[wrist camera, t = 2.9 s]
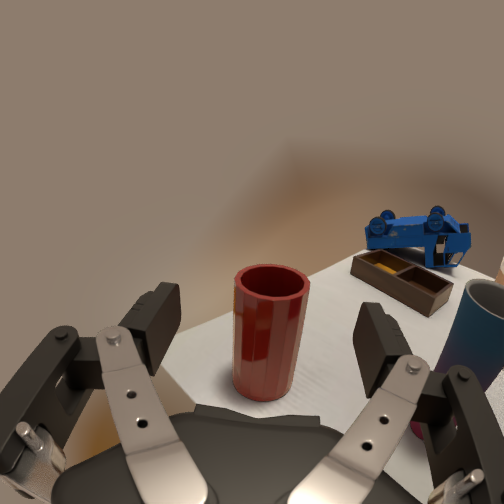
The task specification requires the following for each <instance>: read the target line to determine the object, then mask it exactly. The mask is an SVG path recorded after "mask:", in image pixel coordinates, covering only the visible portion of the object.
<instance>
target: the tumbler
mask: <svg viewBox="0 0 504 504" xmlns="http://www.w3.org/2000/svg"><path fill="white" fill-rule="evenodd" d="M309 290H310V281H309V280H308V278H307V277H306V276H305V275H304V274H303V273H301V272H299V271H298V270H296V269H293V268H290V267H286V266H283V265H275V264H259V265H258V264H257V265H253V266H249V267H246V268H244V269H242V270H240V271H239V272H238V273H237V275H236V276H235V278H234V310H233V357H232V376H233V384H234V386H235V388H236V390H237V391H238V392H239V393H240V394H242V395H243V396H245V397H247V398H249V399H251V400H255V401H272V400H276V399H278V398H280V397H282V396H284V395H285V394H286V393H287V392H288V391H289V389H290V387H291V384H292V380H293V375H294V371H295V366H296V361H297V356H298V351H299V346H300V341H301V335H302V330H303V325H304V319H305V313H306V308H307V302H308V296H309Z"/></svg>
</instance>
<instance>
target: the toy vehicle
mask: <svg viewBox="0 0 504 504" xmlns="http://www.w3.org/2000/svg"><path fill="white" fill-rule="evenodd" d="M365 234H366V241H367V249H380V248H405V247H425V264H426V268H433V267H457V266H458V264H459V263H460V261H461V260H462V258H463V256H464V255H465V253H466V252H467V250H468V249H469V248H471V233H469V227H468V223H467V224H466V223H464V224H459V223H458V222H457V221H456V220H454V218H452V217H451V216H450V215H449V214H447V216H445V211H444V209H443V208H442V207H441V206H435V207H433V208H432V209H431V212H430V215H429V216H428V217H427V216H415V217H402V218H400V219H395V214H394V213H393V212H392V211H391V210H385V211H383V212H382V213H381V215H380V217H375V218H373V219H372V220H371V221H370V224H369V225H368V226H366V227H365ZM445 237H446V239H445ZM444 240H445V249H444V252H443V253H437V252H436V244H444ZM446 241H447V242H446ZM458 252H463V256H462V257H461V259H460V261H459V262H458V264H451V265H448V264H449V262H450V261H451V259H452V257H453V256H454V254H455V253H458ZM452 254H453V255H452ZM449 255H450V256H449ZM451 255H452V256H451ZM450 257H451V258H450ZM449 258H450V259H449ZM448 260H449V261H448Z"/></svg>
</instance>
